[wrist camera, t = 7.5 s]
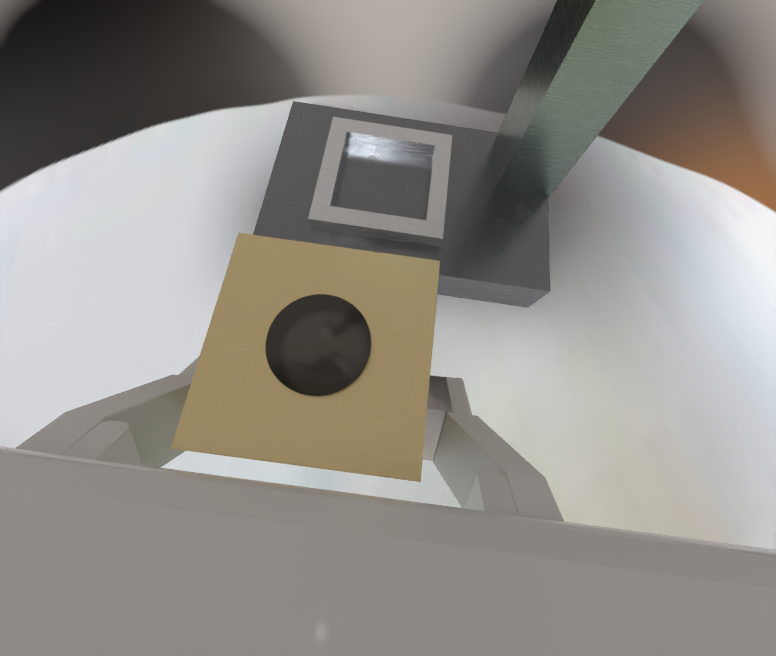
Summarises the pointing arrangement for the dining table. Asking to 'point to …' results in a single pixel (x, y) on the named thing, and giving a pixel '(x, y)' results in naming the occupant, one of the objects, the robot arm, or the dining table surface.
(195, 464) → the dining table surface
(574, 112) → the press
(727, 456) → the dining table surface
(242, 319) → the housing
